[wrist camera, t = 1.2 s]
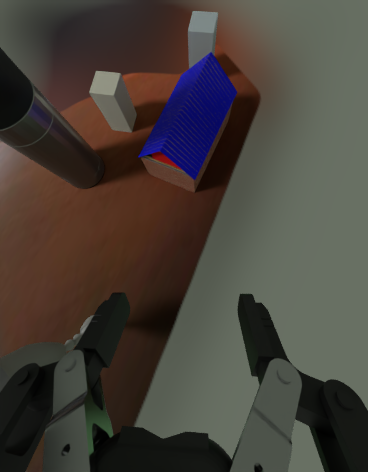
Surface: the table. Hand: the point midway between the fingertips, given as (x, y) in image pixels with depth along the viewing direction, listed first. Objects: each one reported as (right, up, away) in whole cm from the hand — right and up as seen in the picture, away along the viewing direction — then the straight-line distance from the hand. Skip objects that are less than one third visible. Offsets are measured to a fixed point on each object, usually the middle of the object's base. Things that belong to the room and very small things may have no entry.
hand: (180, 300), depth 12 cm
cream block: (-14, +33, +29) cm, 46 cm away
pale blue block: (+5, +45, +29) cm, 54 cm away
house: (+1, +25, +27) cm, 37 cm away
